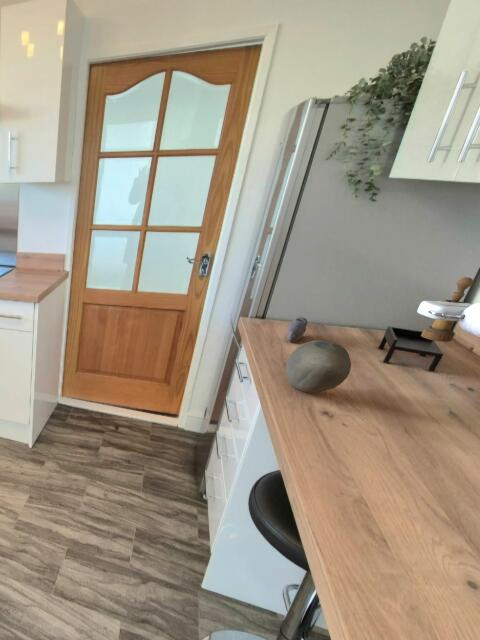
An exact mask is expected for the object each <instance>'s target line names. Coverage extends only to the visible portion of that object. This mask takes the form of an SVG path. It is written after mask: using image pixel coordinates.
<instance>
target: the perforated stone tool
mask: <svg viewBox="0 0 480 640" xmlns="http://www.w3.org/2000/svg"><path fill="white" fill-rule="evenodd" d="M307 325H308V320H307V318H305V317H303V316H298V317H296V318H294V320H292V321H291V322H290V324H289V325H288V327H287V331H286V339H287V341H288V342H290V343H294V342H297V341H298V340H300V339H301V338H302V337H303V335H304V334H305V332H306V331H307Z"/></svg>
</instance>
